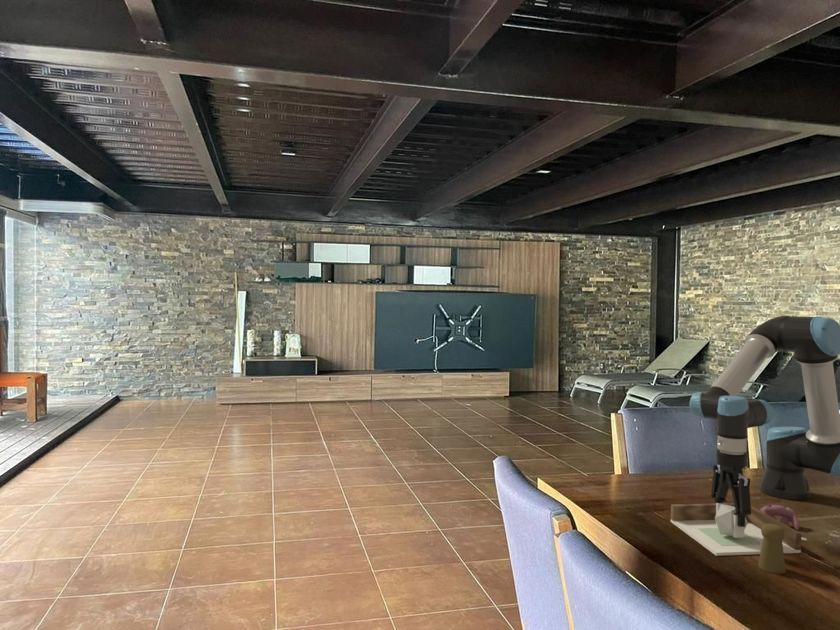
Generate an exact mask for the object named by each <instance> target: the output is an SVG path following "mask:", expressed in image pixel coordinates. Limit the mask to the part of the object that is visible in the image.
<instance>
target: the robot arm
mask: <svg viewBox="0 0 840 630" xmlns="http://www.w3.org/2000/svg"><path fill="white" fill-rule="evenodd" d="M778 352H788V353H789V352H790V353H793V357H794V361H795V362H796V363H799V364H800V367H801V373H802V381H803V387H804V395H805V401H806V402H805V403H806V408H807V415H808V422H809V429H808V430H807V429H806V428H805V427H801V426H775V427H771V428H769V429H768V430H767V435H766V454H765V455H766V456H765V457H766V461H765V462H766V465H765V471H764V473H763V475H762V478H761V481H760V483H759V490H760V491H761V492H762V493H764V494H766V495H768V496H771V497H776V498H780V499H786V500H796V501H797V500H798V501H799V500H801V501H802V500H807V499H809V498H811V489H810V485H809V483H808V479H807V476H806V474H805V473H806V469H808V470H812V471H815V472H820V473H825V474H830V475H831V476H839V477H840V407H839V401H838V392H837V386H836V384H837V383H836V377H835V369H834V362H835V361H837V359H838V358H839V355H840V323H839V322H838V321H836V320H835V319H833V318H831V317H822V316H796V315H795V316H791V315H780V316H775V317H772V318H770V319H767V320H766V321H764V322H762V323H761V324H759V325H757V326H756V327H755V328H754V329H753V330H751V331H750V333H749V334H748V335H747V336H746V338H745V339H744V345H743V347H741V348H740V350H739V351H737V354H735V356H734V357H733V359H731V361H730V362H729V363H728V364H727V366H726V367H724V369H723V371H722V372H721V373H720V374H719V376H718V377H717V378H716V379H715V380H714V382H713V383H712V384H711V386H710V387H709V388H708V389H707V390H706V391H705V392H703V391H700V392H699V391H697V392H695V393H693V394H692V395H691V397H690V400H689V409H690V411H691V413H692V414H693V415H694V416H698V417H700V418H703V419H710V420H715V421H717V440H716V448H717V451H716V463H717V465H713V466H712V469H713V477H712V484H711V491H710V492H711V494H710V497H711V498H712V499H714V502H715V503H716V514H717V512H718V510H719V508H720V506H721V504H723V505H727V504H726V503H728V501H727V499H726V498H727V496H728V495H727V494H728V491H729V489H730V490H731V493H732V499H733V503H734V505H735V510H736V513H734V528H735V529H734V532H733V537H735V538H740V537H744V527H745V516H746V515H751V506H752V505H751V504H752V503H751V491H750V490H751V489H750V486H751V479H750V477H745V476H744V472H743V469H744V468H745V467H747V464H748V463H747V459H748V458H747V457H748V456H747V451H748V429H750V428H755V427H761V426H764V425H767V424H769V423H770V422H772V419H773V417H774V409H773V407H772V406H771V404H770V403H769V402H767V401H766V400H763V399H755V398H754V399H747V397H744V396H740V395H739V393H741V391H742V390H743V388H744V387H745V386H746V385H747V383H748V382H750V380H751V378H752V377H753V376H754V375H755V373H756V372H757V371H758V370H759V369H760V367H762V365H763V363H764V362H765V361H766V360H767V359H770V358H772V357H773V356H775V354H776V353H778ZM716 526H717V523H716Z"/></svg>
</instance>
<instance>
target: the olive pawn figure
mask: <svg viewBox="0 0 840 630" xmlns="http://www.w3.org/2000/svg"><path fill="white" fill-rule="evenodd" d="M761 533H762V535H763V542H762V548H761V553H760V554H759V558H758V559H759V560H758V565H757V566H758V568H759V569H761V570H762V571H765V572H767V573H771V574H785V573H786V562H785V553H784V552H783V544H782V540H783V539H784V537H785V532H784V529H783V528H782V527H780V526H778V525H775V524H764V525H763V526H762V528H761Z"/></svg>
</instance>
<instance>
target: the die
mask: <svg viewBox="0 0 840 630" xmlns="http://www.w3.org/2000/svg"><path fill="white" fill-rule="evenodd" d="M734 513H736V510H735V506H730V505H723V504H721V506H720V508H719V510H718V512H717V514H716V516H715V521H716V523H717V526H718V529H719V532H720V534H723V535H729V536H733V532H734V529H735V528H734ZM747 524H748V522H747V520H746V517H745V527H744V530H745V528H746V526H747ZM740 538H741V537H740Z"/></svg>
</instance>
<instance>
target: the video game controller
mask: <svg viewBox="0 0 840 630" xmlns="http://www.w3.org/2000/svg"><path fill="white" fill-rule="evenodd" d="M759 510H760V511H762V512H763V513H765V514H767V515H769V516H771V517H772V518H774V519H776V520H778V519H777V517H776V516H780V519H779V521H780V522H782V523H783V524H785V525H787V526H789V524H790V523H791V525H792V526H793V529H794V530H796V531H799V529H800V524H799V519H798V517H797V513H796V512H795V510H793V509H792V508H791V507H786V506H784V505H779V504H778V505H777V504H771V505H770V504H769V505H765V506H763V507H761V508H760V509H759Z"/></svg>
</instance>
